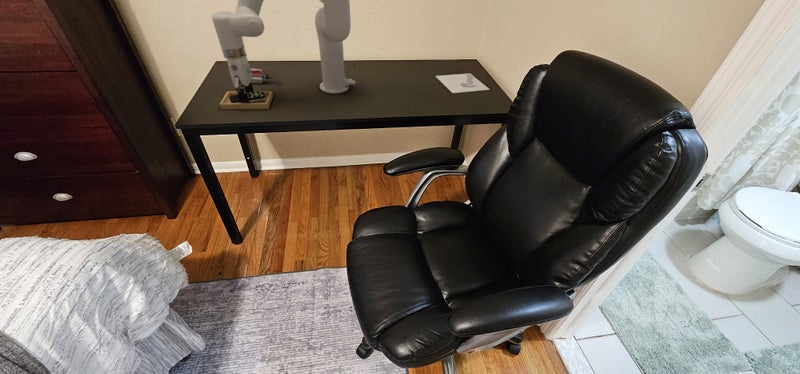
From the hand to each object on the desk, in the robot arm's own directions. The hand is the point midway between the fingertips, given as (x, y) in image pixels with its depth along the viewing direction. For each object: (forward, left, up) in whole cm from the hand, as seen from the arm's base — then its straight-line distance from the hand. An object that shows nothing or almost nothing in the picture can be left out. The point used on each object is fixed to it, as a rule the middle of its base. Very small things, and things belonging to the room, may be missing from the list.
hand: (247, 97), depth 122 cm
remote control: (0, 0, -1) cm, 1 cm away
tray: (0, 0, -2) cm, 2 cm away
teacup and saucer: (-94, -19, -2) cm, 96 cm away
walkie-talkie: (0, -21, -2) cm, 22 cm away
